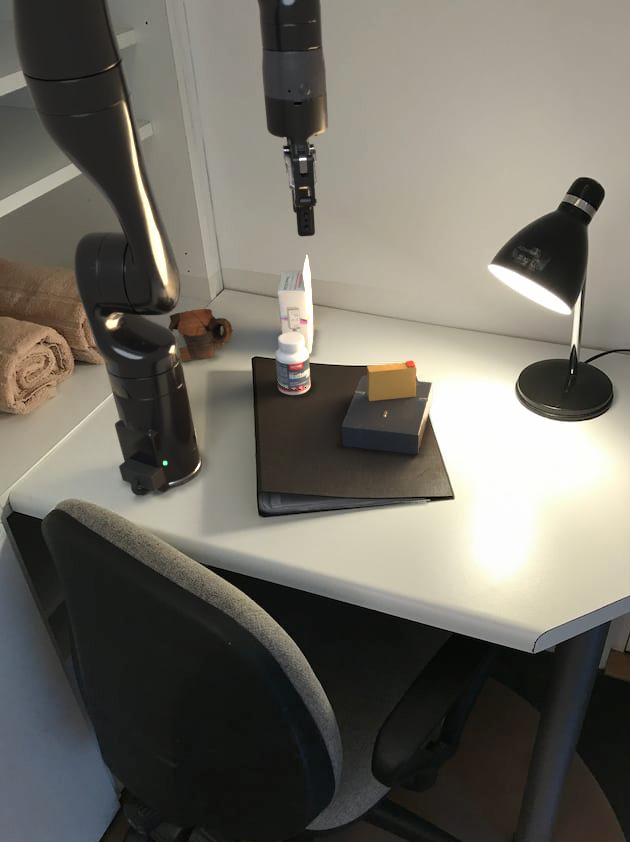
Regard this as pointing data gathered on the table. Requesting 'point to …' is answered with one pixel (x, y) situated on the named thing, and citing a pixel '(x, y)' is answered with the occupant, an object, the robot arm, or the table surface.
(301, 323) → the ink cartridge box
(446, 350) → the table surface
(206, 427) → the table surface
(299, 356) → the pill bottle
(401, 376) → the tap lever
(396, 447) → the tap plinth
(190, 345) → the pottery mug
